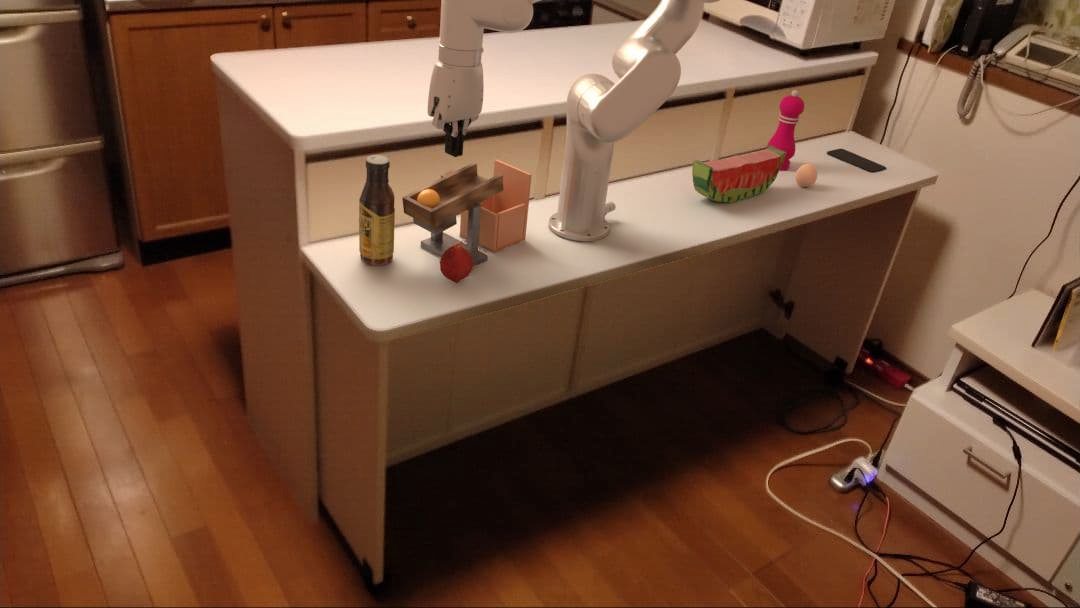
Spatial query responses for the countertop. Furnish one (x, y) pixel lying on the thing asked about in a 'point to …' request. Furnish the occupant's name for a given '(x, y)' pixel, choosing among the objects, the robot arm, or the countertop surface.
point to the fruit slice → (737, 175)
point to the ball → (429, 198)
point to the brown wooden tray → (451, 197)
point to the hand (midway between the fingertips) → (453, 154)
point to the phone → (856, 160)
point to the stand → (445, 241)
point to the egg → (806, 175)
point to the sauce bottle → (376, 214)
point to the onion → (456, 263)
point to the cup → (503, 211)
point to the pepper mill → (787, 126)
